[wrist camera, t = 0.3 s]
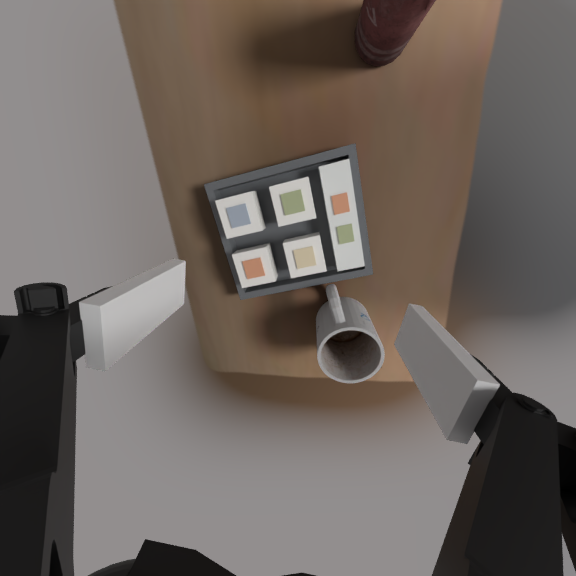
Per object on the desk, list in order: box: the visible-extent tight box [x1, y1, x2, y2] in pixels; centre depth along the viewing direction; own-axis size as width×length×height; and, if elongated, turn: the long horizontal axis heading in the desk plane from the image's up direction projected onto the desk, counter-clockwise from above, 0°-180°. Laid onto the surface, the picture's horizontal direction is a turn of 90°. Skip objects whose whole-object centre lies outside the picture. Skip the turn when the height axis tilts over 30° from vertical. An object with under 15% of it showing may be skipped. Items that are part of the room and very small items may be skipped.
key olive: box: [269, 177, 316, 227], centre depth 34 cm, size 5×5×3 cm
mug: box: [316, 284, 384, 383], centre depth 39 cm, size 12×9×10 cm
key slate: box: [215, 191, 266, 239], centre depth 35 cm, size 5×5×3 cm
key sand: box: [283, 232, 327, 278], centre depth 37 cm, size 5×5×3 cm
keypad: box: [204, 144, 373, 300], centre depth 38 cm, size 17×20×3 cm
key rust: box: [232, 243, 278, 288], centre depth 38 cm, size 5×5×3 cm
